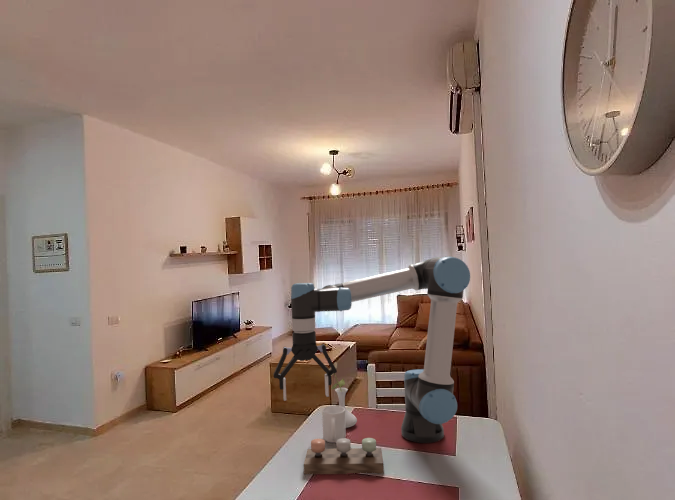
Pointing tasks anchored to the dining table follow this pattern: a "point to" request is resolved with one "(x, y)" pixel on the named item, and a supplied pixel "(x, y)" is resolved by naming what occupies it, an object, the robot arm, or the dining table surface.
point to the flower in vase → (343, 401)
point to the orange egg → (318, 446)
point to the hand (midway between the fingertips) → (306, 397)
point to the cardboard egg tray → (343, 462)
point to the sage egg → (369, 445)
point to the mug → (333, 423)
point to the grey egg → (343, 446)
